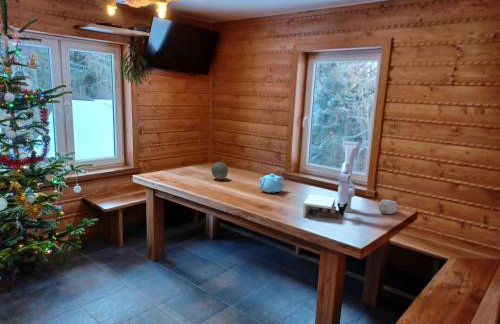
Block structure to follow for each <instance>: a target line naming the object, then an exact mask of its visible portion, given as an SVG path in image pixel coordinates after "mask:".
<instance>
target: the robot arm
mask: <svg viewBox="0 0 500 324" xmlns="http://www.w3.org/2000/svg"><path fill="white" fill-rule="evenodd" d="M360 146H361V145H360V142H359V141H348V140H344V141H343V142H342V154H343V155H344V156H345V157H344V162H343V163H342V164H341V169H340V173H339V175H338V188H337V207H338V208H337V210H339V216H344V214H345V213H349V214H351V213H352V199H353V198H354V196H355V191H356V189H355V188H356V186H355V184H354V183H353V182H352V175H353V170H354V169H353V167H354V162H355V161H354V160H355V158H356V157H357V156H359V153H360Z"/></svg>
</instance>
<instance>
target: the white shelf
mask: <svg viewBox="0 0 500 324" xmlns="http://www.w3.org/2000/svg"><path fill="white" fill-rule="evenodd" d="M335 201H336V198H335V197H330V196H324V195H323V196H322V195H314V194H309V195H308V196H307V198H306V199H305V201H304V202H303V204H302V218H306V216H307V214H308V213H309V211H310V210H312V209H313V210H317V211H318V210H319V209H320V208H328V209H331V208H332V206H335V203H336V202H335ZM335 207H336V206H335Z"/></svg>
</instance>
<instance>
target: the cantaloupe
mask: <svg viewBox="0 0 500 324" xmlns="http://www.w3.org/2000/svg"><path fill="white" fill-rule="evenodd" d="M210 170H211V175H212V176H213V177H214V178H215V179H217V180H218V179H219V181H222V180H221V179H223V180H225V179H226V178H227V176H228V173H229V167H228V166H227V164H226V163H225V162H222V161H216V162H214V163H213V164H212V166H211V169H210Z"/></svg>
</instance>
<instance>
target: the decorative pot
mask: <svg viewBox="0 0 500 324" xmlns="http://www.w3.org/2000/svg"><path fill="white" fill-rule="evenodd" d="M284 182H285V179H284V177H283V176H279V175H276V174H275V173H270V174H266V175H264V176H263V177H260V178H259V184H260V185H259V186H258V188H259V189H261V191H263V192H265V193H267V192H268V193H267V194H271V193H275V192H279V193H280V192H281V191H282V190H283V188H284V187H285V185H284ZM270 192H271V193H270Z"/></svg>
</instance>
